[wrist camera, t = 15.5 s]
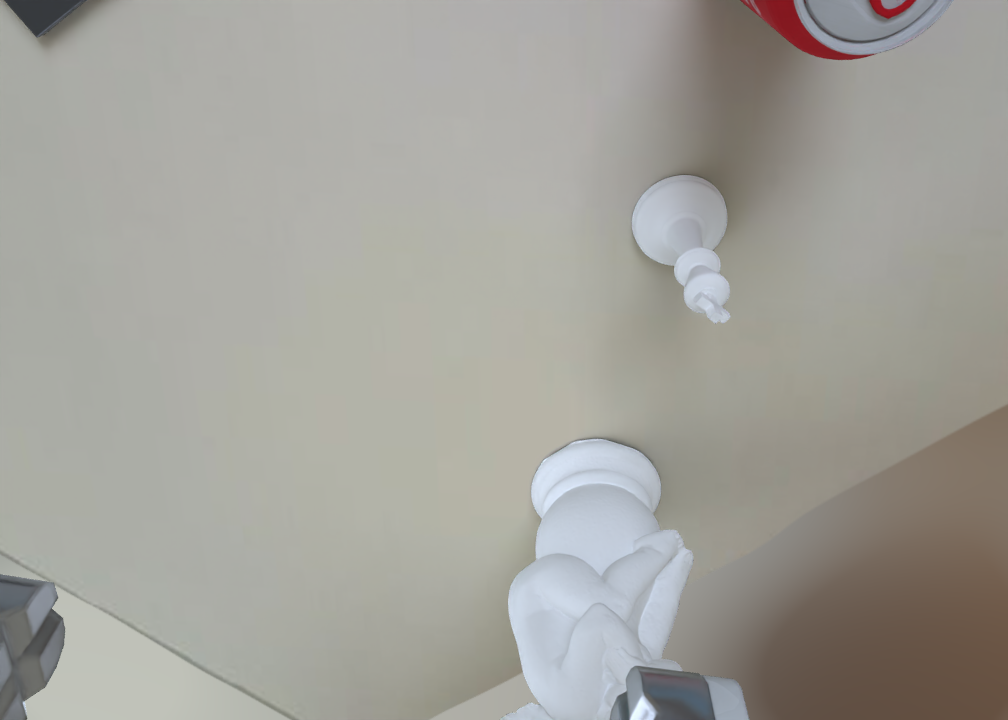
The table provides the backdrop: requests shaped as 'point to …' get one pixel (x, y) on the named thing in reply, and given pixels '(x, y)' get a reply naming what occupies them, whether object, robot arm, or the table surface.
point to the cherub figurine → (595, 581)
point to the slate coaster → (43, 12)
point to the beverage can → (848, 24)
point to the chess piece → (686, 238)
